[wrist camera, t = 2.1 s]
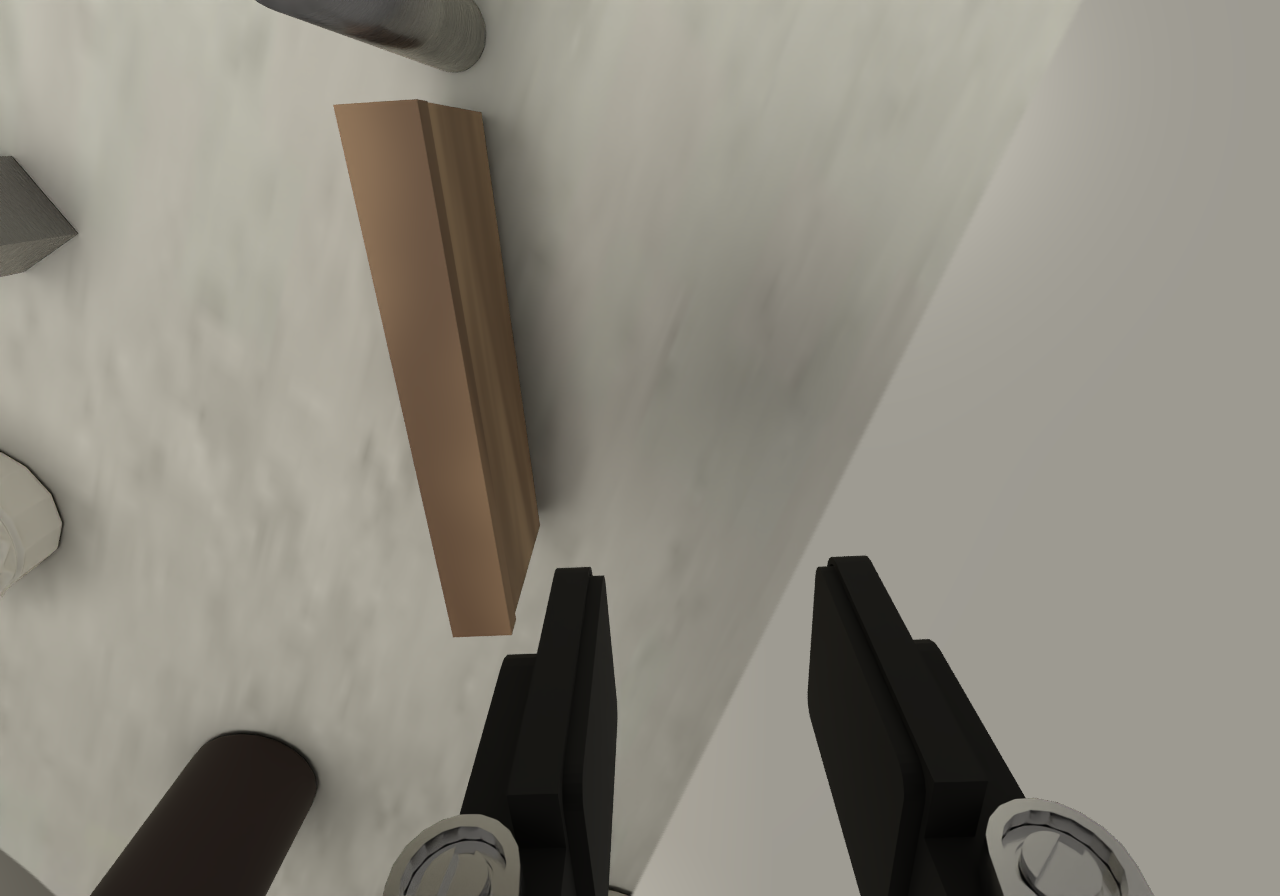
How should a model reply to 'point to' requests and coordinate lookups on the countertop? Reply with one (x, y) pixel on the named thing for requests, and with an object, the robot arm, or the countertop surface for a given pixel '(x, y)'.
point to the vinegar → (219, 824)
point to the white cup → (24, 522)
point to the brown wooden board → (449, 344)
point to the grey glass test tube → (401, 26)
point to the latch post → (26, 221)
